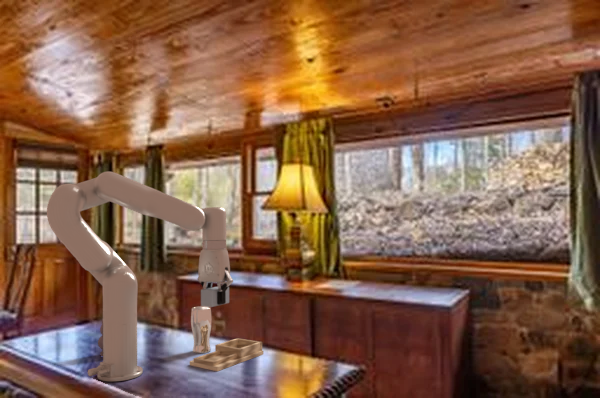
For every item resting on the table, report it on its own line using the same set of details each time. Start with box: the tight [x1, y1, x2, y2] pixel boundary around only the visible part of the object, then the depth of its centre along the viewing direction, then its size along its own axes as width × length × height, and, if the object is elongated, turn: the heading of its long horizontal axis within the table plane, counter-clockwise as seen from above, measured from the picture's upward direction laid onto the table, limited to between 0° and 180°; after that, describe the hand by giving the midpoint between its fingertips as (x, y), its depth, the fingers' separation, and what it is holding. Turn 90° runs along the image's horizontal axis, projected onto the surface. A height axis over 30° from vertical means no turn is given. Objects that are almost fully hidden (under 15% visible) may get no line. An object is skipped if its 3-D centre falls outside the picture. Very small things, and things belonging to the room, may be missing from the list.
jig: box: [189, 337, 264, 372], centre depth 164 cm, size 22×12×4 cm, turn 145°
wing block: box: [200, 286, 230, 308], centre depth 160 cm, size 8×4×5 cm, turn 150°
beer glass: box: [190, 305, 213, 355], centre depth 175 cm, size 7×7×15 cm
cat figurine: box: [97, 318, 103, 356], centre depth 171 cm, size 8×8×12 cm
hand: (215, 302), depth 160 cm, fingers closed on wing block, 4 cm apart
